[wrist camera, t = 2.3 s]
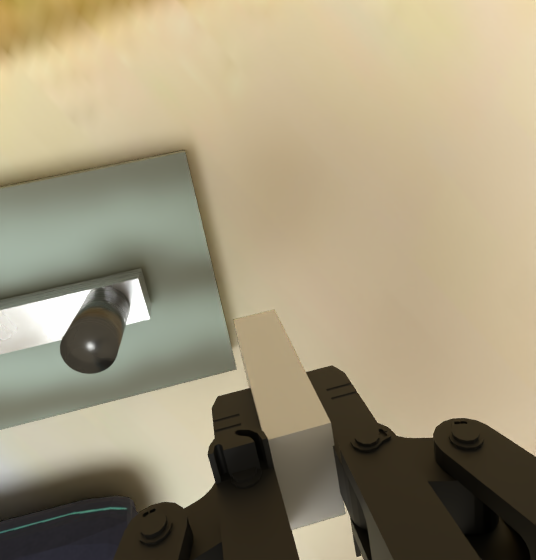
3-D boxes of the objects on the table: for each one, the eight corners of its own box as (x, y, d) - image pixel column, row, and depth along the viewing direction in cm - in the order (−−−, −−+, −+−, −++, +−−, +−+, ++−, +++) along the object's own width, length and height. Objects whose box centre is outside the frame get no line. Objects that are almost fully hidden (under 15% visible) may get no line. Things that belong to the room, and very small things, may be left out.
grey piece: (151, 305, 27) (142, 361, 20) (-23, 347, 26) (-92, 419, 19) (141, 268, 26) (127, 313, 20) (-40, 308, 25) (-118, 371, 18)
